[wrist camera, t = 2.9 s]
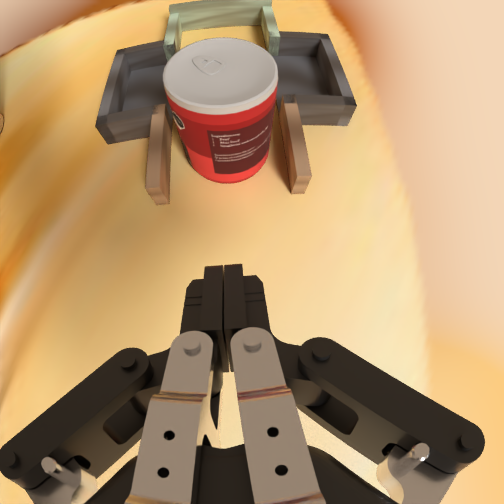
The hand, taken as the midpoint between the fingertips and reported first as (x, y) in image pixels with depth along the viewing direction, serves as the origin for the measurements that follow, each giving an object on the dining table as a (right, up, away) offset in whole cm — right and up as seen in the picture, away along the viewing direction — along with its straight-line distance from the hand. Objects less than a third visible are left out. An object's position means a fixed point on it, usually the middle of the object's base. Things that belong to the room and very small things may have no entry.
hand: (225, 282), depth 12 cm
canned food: (-1, +11, +16) cm, 19 cm away
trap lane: (-2, +20, +18) cm, 26 cm away
